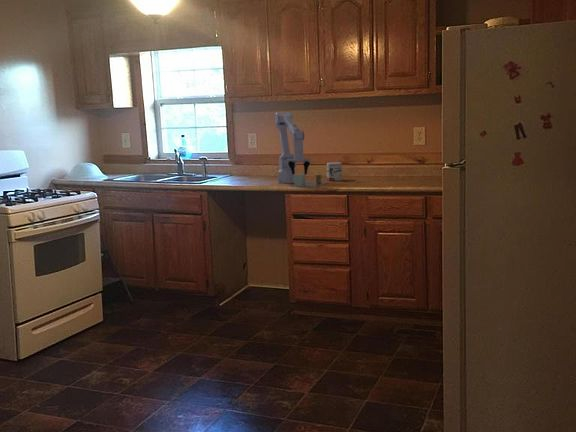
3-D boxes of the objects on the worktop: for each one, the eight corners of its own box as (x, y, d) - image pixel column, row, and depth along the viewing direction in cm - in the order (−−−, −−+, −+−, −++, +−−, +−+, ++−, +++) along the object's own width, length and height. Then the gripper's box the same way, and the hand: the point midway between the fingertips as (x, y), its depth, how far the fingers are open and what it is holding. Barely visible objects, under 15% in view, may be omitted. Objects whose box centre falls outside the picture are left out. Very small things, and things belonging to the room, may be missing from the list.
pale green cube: (294, 186, 388) (293, 175, 387) (297, 185, 393) (296, 174, 392) (302, 186, 386) (302, 175, 385) (305, 185, 391) (305, 174, 390)
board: (288, 187, 389) (288, 186, 389) (300, 183, 408) (300, 182, 407) (317, 188, 383) (317, 186, 383) (327, 183, 401) (327, 182, 401)
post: (316, 183, 397) (316, 175, 396) (317, 182, 400) (317, 174, 399) (320, 183, 396) (320, 175, 395) (321, 182, 399) (321, 174, 398)
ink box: (329, 182, 405) (328, 163, 403) (326, 181, 409) (326, 162, 407) (342, 181, 406) (341, 162, 404) (340, 180, 411) (339, 161, 409)
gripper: (284, 152, 385) (285, 175, 387) (307, 151, 380) (309, 175, 382) (288, 151, 391) (289, 173, 394) (311, 150, 386) (312, 173, 389)
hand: (299, 174), depth 388 cm, fingers open, 7 cm apart
